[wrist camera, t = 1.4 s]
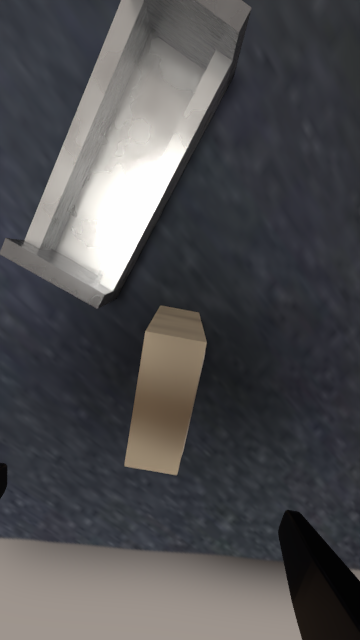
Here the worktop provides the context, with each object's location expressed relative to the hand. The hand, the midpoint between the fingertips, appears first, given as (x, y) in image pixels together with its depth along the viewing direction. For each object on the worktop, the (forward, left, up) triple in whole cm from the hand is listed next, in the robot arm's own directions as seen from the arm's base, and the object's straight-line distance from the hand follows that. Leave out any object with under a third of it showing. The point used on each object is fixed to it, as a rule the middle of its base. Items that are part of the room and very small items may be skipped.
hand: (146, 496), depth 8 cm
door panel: (0, 0, -12) cm, 12 cm away
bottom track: (+10, +9, -12) cm, 18 cm away
